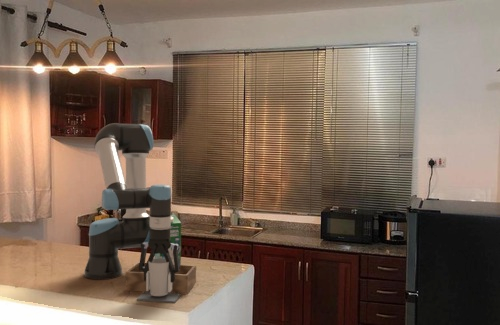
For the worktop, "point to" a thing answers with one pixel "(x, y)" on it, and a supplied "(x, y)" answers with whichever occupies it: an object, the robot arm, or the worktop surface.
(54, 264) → the worktop surface
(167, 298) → the slate mat
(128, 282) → the crate
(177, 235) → the milk carton
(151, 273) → the cup
